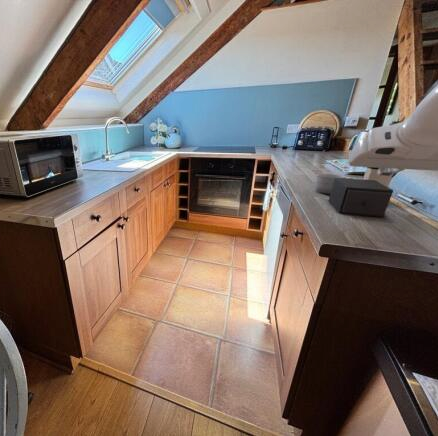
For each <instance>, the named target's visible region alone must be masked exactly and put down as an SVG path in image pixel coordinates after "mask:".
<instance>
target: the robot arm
mask: <svg viewBox="0 0 438 436" xmlns="http://www.w3.org/2000/svg"><path fill="white" fill-rule="evenodd" d="M347 158H348V159H347V160H348V161H347V162H348V165H349V166H350V167H355V168H356V167H357V168H367V167H375V168H379V169H378V171H377V175H384V176H392V175H395V174H397V173H399V172H403V171H405V170H417V171H436V172H438V79H436V80H435V82H433V84H432V85H431V87H429V89H428V90H427V91H426V93H425V94H424V98H423V99H422V100H420V103H418V105H417V106H416V107H415V108H414V110H413V112H412V115H411V116H409V117H408V118H407V119H405V120H404V121H402V122H400V123H397V124H393V125H390V124H388V125H384V126H383V125H382V126H377V127H374V128H371V129H369V131H368V132H367V136H366V137H364V138H362V139H360V140H359V141H358V142H357V143H356V144H355V145H354V147H353V148H352V149H351V150H350V152H349V153H348V157H347ZM392 177H393V176H392Z"/></svg>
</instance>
